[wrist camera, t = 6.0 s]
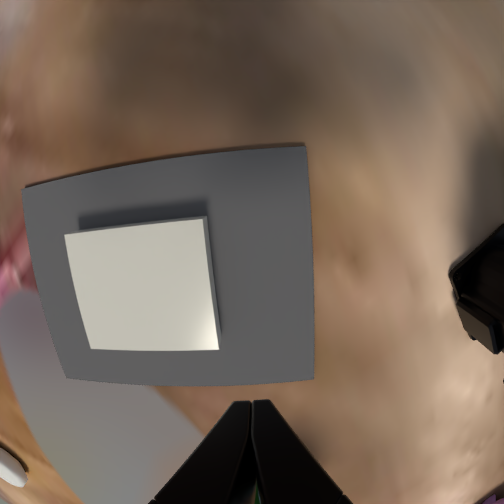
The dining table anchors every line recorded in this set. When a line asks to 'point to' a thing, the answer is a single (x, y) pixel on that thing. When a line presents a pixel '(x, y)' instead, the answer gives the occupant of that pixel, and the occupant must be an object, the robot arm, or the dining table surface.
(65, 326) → the mat
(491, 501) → the teapot
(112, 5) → the dining table surface
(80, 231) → the tile
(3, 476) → the spatula
